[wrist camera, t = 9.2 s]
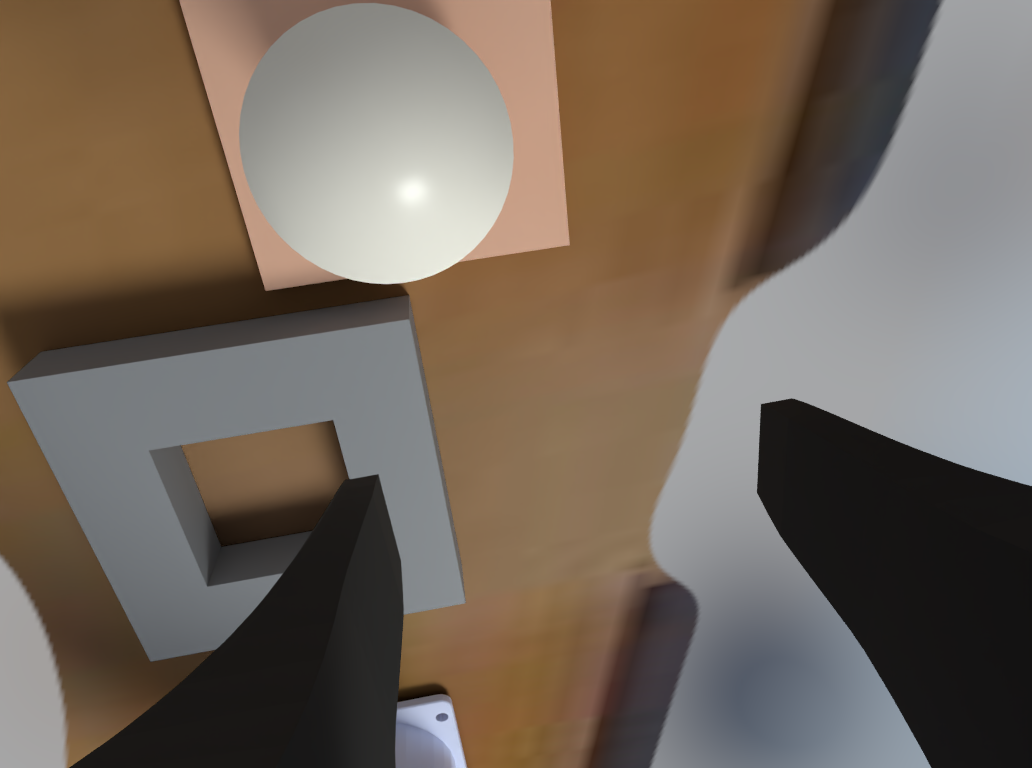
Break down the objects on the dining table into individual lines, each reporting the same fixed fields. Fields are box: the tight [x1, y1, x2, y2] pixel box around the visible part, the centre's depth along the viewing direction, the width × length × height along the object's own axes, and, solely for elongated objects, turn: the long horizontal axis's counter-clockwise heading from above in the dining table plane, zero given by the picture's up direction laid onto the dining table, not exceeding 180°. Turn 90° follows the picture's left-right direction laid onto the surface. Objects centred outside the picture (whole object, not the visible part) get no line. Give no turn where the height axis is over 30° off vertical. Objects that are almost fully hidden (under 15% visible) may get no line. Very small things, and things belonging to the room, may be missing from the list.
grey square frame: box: [7, 295, 466, 662], centre depth 23 cm, size 11×11×2 cm
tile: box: [179, 0, 569, 291], centre depth 19 cm, size 9×9×1 cm
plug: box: [239, 3, 514, 284], centre depth 15 cm, size 4×4×8 cm
